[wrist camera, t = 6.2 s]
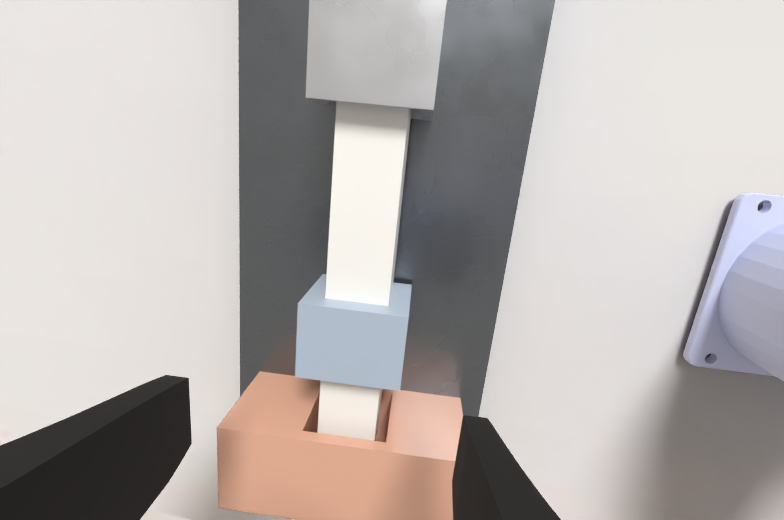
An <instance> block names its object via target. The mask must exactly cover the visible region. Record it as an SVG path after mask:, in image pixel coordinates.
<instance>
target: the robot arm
mask: <svg viewBox="0 0 784 520" xmlns="http://www.w3.org/2000/svg"><path fill="white" fill-rule="evenodd" d="M762 201H763V207H762V209H761V210H759V211H758V205H759V203H760V202H762ZM708 354H711V356H710V357H709V358H708V359H705V357H706V355H708ZM683 357H684V359H685V360H686V361H687V362H688V363H690V364H691V365H693V366H697V367H705V368H713V369H721V370H729V371H737V372H745V373H753V374H760V375H768V376H775V377H777V378H779V379H780V380H782V381H783V382H784V196H780V195H770V194H761V193H751V192H747V193H743V194H740V195H739V196H738V197H736V198H735V200H734V202H733V204H732V207H731V210H730V213H729V216H728V219H727V222H726V225H725V228H724V231H723V234H722V237H721V241H720V244H719V247H718V250H717V253H716V256H715V259H714V262H713V265H712V268H711V271H710V274H709V277H708V280H707V283H706V286H705V289H704V292H703V295H702V298H701V301H700V304H699V307H698V310H697V313H696V316H695V319H694V322H693V325H692V328H691V331H690V334H689V337H688V340H687V343H686V346H685V349H684V353H683ZM191 444H192V443H191V421H190V399H189V378H184V377H176V376H169V375H165V376H163V377H160V378H157V379H155V380H152V381H150V382H147V383H145V384H143V385H140V386H138V387H136V388H134V389H131V390H129V391H127V392H125V393H122V394H120V395H118V396H116V397H114V398H111V399H109V400H107V401H105V402H102V403H100V404H98V405H96V406H93V407H91V408H89V409H87V410H85V411H82V412H80V413H78V414H76V415H73V416H71V417H69V418H66V419H64V420H62V421H59V422H57V423H54V424H52V425H50V426H47V427H45V428H42V429H40V430H38V431H35V432H33V433H30V434H28V435H26V436H23V437H21V438H18V439H16V440H14V441H11V442H8V443H6V444H3V445H1V446H0V520H140V519H141V517H142V516H143V515H144V513H145V512H146V511H147V510H148V508H149V507H150V506H151V504H152V503H153V502H154V500H155V499H156V498H157V497H158V495H159V494H160V493H161V491H162V490H163V489H164V487H165V486H166V485H167V483H168V482H169V480H170V479H171V477H172V476H173V474H174V472H175V471H176V469H177V468H178V466H179V464H180V463H181V461H182V459H183V457H184V456H185V454H186V452H187V451H188V449H189V447H190V445H191ZM452 502H453V520H561V519H560V518H559V517H558V516H557V514H556V513H555V512H554V511H553V510H552V508H551V507H550V506H549V505H548V503H547V502H546V501H545V499H544V498H543V497H542V495H541V494H540V493H539V492H538V490H537V489H536V487H535V486H534V485H533V483H532V482H531V481H530V479H529V478H528V477H527V475H526V474H525V472H524V471H523V470H522V468H521V467H520V465H519V464H518V463H517V461H516V460H515V458H514V457H513V455H512V454H511V452H510V451H509V450H508V448H507V447H506V445H505V444H504V442H503V441H502V439H501V438H500V436H499V434H498V433H497V431H496V430H495V428H494V427H493V425H492V424H491V422H490V421H489V420H488V418H482V417H474V416H467V415H463V419H462V425H461V431H460V437H459V442H458V448H457V454H456V460H455V466H454V472H453V478H452Z"/></svg>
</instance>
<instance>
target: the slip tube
mask: <svg viewBox="0 0 784 520" xmlns="http://www.w3.org/2000/svg"><path fill="white" fill-rule="evenodd" d="M411 112H412V109H404V108H394V107H383V106H373V105H363V104H353V103H342V102H336V119H335V136H334V154H333V171H332V188H331V206H330V223H329V241H328V258H327V274H322V276H321V277H320V278H319V279H318V280H317V281H316V283H315V284H314V285H313V286H312V287H311V288H310V290H309V291H308V292H307V293H306V294H305V296H304V297H303V298H302V299H301V300H300V301H299V303H298V312H297V338H296V364H295V377H298V378H306V379H313V380H320V397H319V414H318V432H317V433H322V434H330V435H337V436H344V437H351V438H358V439H365V440H372V441H376V438H377V432H378V424H379V414H380V405H381V395H382V389H388V390H396V391H400V386H401V378H402V370H403V361H404V353H405V345H406V336H407V328H408V320H409V309H410V298H411V288H412V285H410V284H402V283H394V272H395V263H396V254H397V244H398V235H399V225H400V216H401V206H402V197H403V187H404V178H405V169H406V159H407V150H408V140H409V131H410V121H411Z"/></svg>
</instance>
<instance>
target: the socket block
mask: <svg viewBox="0 0 784 520" xmlns="http://www.w3.org/2000/svg"><path fill="white" fill-rule="evenodd" d="M319 397H320V380H313V379H306V378H298V377H295V376H291V375H284V374H276V373H269V372H261V371H260V372H259V373H258V374H257V376H256V377H255V378H254V379H253V381H252V382H251V383H250V385H249V386H248V387H247V389H246V390H245V391H244V393H243V394H242V395H241V397H240V398H239V399H238V401H237V402H236V403H235V405H234V406H233V407H232V408H231V410H230V411H229V412H228V414H227V415H226V416H225V418H224V419H223V420H222V422H221V423H220V424H219V426H218V427H217V457H218V499H219V508H222V509H229V510H236V511H242V512H249V513H255V514H262V515H269V516H275V517H282V518H288V519H295V520H453V502H452V478H453V472H454V466H455V460H456V454H457V448H458V442H459V437H460V431H461V425H462V419H463V412H462V405H461V398H457V397H449V396H442V395H434V394H427V393H419V392H412V391H404V390H400V391H396V390H388V389H382V395H381V405H380V414H379V424H378V432H377V438H376V441H372V440H365V439H358V438H351V437H344V436H337V435H330V434H322V433H317V432H318V414H319Z"/></svg>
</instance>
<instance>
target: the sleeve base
mask: <svg viewBox="0 0 784 520" xmlns="http://www.w3.org/2000/svg"><path fill="white" fill-rule="evenodd" d="M554 3H555V0H239V203H240V397H241V395H242V394H243V393H244V391H245V390H246V389H247V387H248V386H249V385H250V383H251V382H252V381H253V379H254V378H255V377H256V376H257V374H258V373H259V372H260V371H261V372H269V373H276V374H284V375H291V376H295V364H296V338H297V312H298V303H299V301H300V300H301V299H302V298H303V297H304V296H305V294H306V293H307V292H308V291H309V290H310V288H311V287H312V286H313V285H314V284H315V283H316V281H317V280H318V279H319V278H320V277H321V276H322V274H327V258H328V241H329V223H330V206H331V188H332V171H333V154H334V136H335V119H336V102H342V103H353V104H363V105H373V106H383V107H394V108H404V109H412V112H411V121H410V131H409V140H408V150H407V159H406V169H405V178H404V187H403V197H402V206H401V216H400V225H399V235H398V244H397V254H396V263H395V272H394V283H402V284H410V285H412V288H411V298H410V309H409V320H408V328H407V336H406V345H405V353H404V361H403V370H402V378H401V386H400V390H404V391H412V392H419V393H427V394H434V395H442V396H449V397H457V398H461V405H462V412H463V415H467V416H474V417H478V415H479V409H480V404H481V399H482V393H483V388H484V382H485V377H486V371H487V366H488V361H489V355H490V350H491V344H492V339H493V333H494V328H495V323H496V317H497V312H498V306H499V301H500V295H501V290H502V285H503V279H504V274H505V268H506V263H507V258H508V252H509V247H510V241H511V236H512V230H513V225H514V220H515V214H516V209H517V203H518V198H519V192H520V187H521V182H522V176H523V171H524V165H525V160H526V155H527V149H528V144H529V138H530V133H531V127H532V122H533V117H534V111H535V106H536V100H537V95H538V89H539V84H540V79H541V73H542V68H543V62H544V57H545V52H546V46H547V41H548V35H549V30H550V24H551V19H552V14H553V8H554Z"/></svg>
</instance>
